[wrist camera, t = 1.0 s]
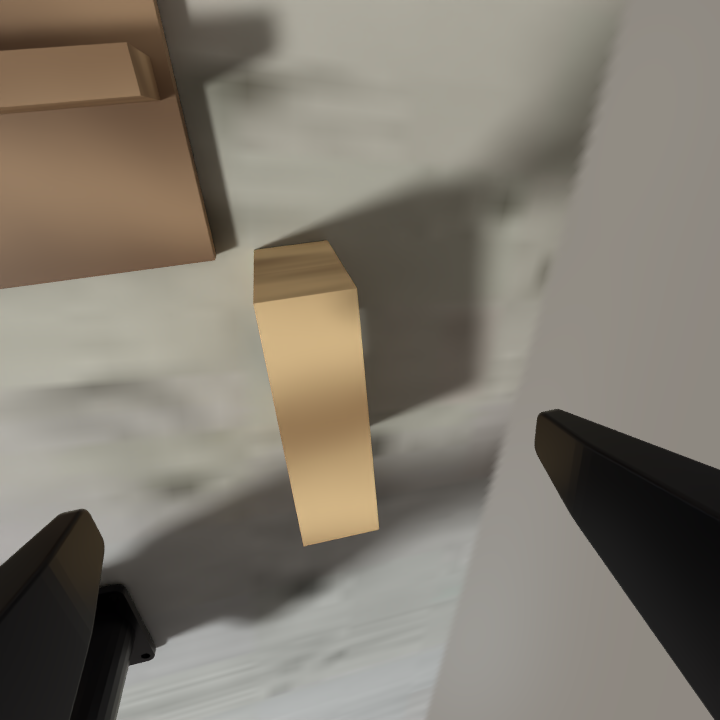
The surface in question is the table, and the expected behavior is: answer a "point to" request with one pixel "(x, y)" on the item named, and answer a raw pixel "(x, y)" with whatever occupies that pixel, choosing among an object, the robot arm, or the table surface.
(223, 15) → the table surface
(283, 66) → the table surface
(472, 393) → the table surface
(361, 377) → the tan notched block
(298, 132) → the table surface
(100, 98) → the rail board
